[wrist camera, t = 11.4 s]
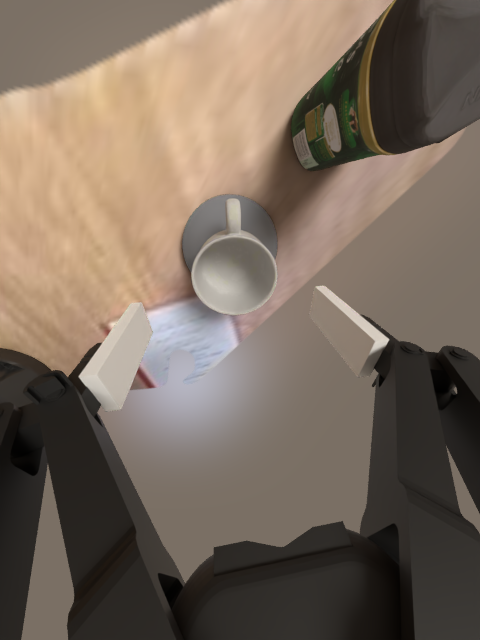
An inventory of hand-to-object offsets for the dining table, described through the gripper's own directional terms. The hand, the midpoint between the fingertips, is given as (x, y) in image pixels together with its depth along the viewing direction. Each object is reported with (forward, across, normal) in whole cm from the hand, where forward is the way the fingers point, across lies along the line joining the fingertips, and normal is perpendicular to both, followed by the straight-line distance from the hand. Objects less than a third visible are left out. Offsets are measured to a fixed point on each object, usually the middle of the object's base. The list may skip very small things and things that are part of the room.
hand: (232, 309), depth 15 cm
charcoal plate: (+19, +2, 0) cm, 19 cm away
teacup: (+18, +2, 0) cm, 18 cm away
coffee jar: (+19, +14, +14) cm, 28 cm away
